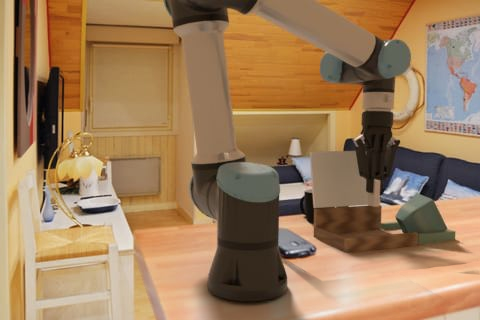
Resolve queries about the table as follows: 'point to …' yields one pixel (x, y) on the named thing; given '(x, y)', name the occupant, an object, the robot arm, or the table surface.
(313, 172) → the lid
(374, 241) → the brown wooden box
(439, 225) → the flower pot
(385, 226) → the potting tray
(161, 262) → the table surface
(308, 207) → the mug
